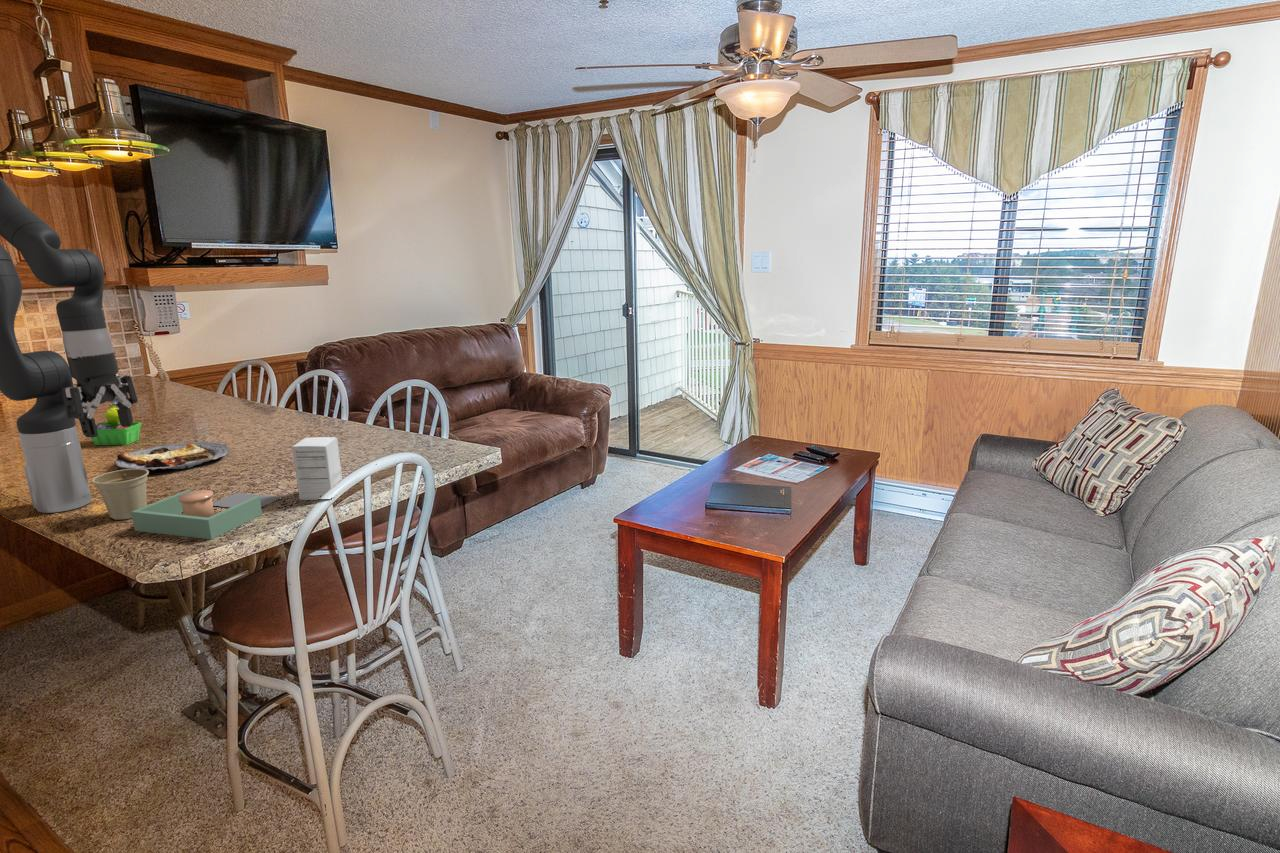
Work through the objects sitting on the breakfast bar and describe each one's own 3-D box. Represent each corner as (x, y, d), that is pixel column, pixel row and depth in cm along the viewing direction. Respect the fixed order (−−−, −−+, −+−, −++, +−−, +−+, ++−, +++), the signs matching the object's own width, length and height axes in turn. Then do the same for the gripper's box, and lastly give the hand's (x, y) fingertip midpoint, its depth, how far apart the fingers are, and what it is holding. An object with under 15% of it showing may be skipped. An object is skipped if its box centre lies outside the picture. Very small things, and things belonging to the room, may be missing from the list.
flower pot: (99, 527, 135) (90, 486, 133) (100, 512, 142) (92, 473, 140) (156, 516, 140) (149, 477, 138) (155, 503, 148) (148, 465, 145)
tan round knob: (176, 526, 135) (171, 498, 134) (200, 516, 141) (195, 488, 139) (200, 529, 134) (195, 501, 133) (223, 518, 140) (219, 491, 138)
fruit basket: (86, 446, 190) (78, 407, 187) (109, 438, 198) (101, 400, 196) (128, 446, 190) (120, 407, 187) (149, 438, 199) (142, 400, 196)
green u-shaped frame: (134, 530, 133) (131, 511, 132) (190, 507, 146) (187, 489, 145) (211, 539, 129) (208, 520, 128) (262, 514, 142) (259, 496, 141)
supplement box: (311, 489, 157) (304, 436, 154) (344, 488, 157) (338, 436, 154) (298, 500, 150) (290, 446, 147) (332, 500, 150) (326, 445, 147)
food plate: (133, 482, 161) (131, 467, 160) (101, 464, 174) (99, 451, 174) (245, 460, 180) (243, 447, 179) (208, 446, 194) (206, 434, 193)
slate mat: (208, 505, 146) (207, 505, 146) (237, 493, 154) (236, 492, 154) (255, 510, 144) (255, 509, 144) (282, 497, 151) (282, 497, 151)
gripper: (103, 348, 141) (121, 423, 145) (39, 358, 128) (61, 441, 131) (136, 347, 141) (154, 422, 145) (75, 357, 127) (97, 440, 131)
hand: (110, 431), depth 138 cm, fingers open, 8 cm apart
